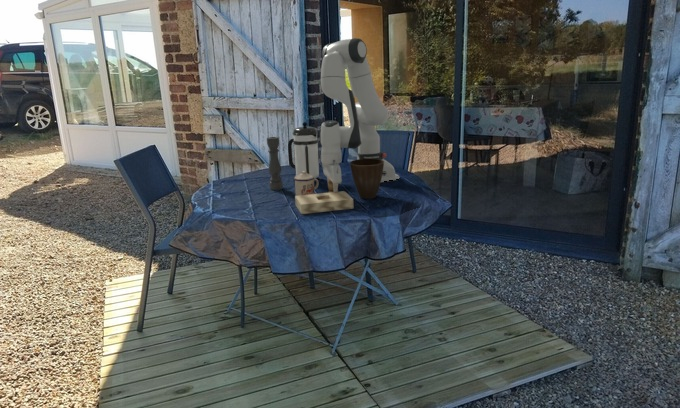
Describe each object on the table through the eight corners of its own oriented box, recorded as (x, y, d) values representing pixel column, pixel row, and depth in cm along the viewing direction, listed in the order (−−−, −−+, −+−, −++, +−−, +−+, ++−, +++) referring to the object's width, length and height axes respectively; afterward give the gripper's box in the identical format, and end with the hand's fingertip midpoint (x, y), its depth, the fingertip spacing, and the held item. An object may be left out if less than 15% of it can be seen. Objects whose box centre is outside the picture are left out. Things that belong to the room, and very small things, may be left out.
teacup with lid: (301, 200, 218) (300, 174, 214) (291, 196, 225) (290, 171, 222) (324, 195, 224) (323, 170, 221) (313, 191, 232) (312, 167, 228)
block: (344, 199, 216) (344, 191, 215) (353, 208, 203) (353, 199, 202) (295, 204, 211) (294, 195, 210) (301, 214, 198) (300, 204, 196)
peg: (336, 196, 222) (335, 174, 219) (338, 198, 218) (337, 176, 215) (327, 197, 221) (326, 175, 218) (329, 199, 217) (328, 177, 214)
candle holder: (280, 190, 236) (276, 138, 229) (268, 189, 237) (264, 138, 230) (284, 186, 242) (280, 136, 235) (272, 186, 243) (268, 136, 236)
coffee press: (322, 175, 263) (319, 119, 255) (321, 182, 248) (319, 123, 240) (289, 176, 263) (286, 120, 255) (287, 183, 248) (283, 124, 239)
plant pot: (362, 203, 210) (361, 166, 205) (345, 195, 222) (343, 161, 218) (390, 197, 216) (390, 162, 212) (372, 190, 229) (372, 157, 224)
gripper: (344, 162, 206) (345, 193, 209) (333, 154, 225) (334, 183, 228) (330, 163, 204) (331, 195, 208) (319, 155, 223) (320, 184, 227)
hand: (332, 188), depth 218 cm, fingers open, 8 cm apart
